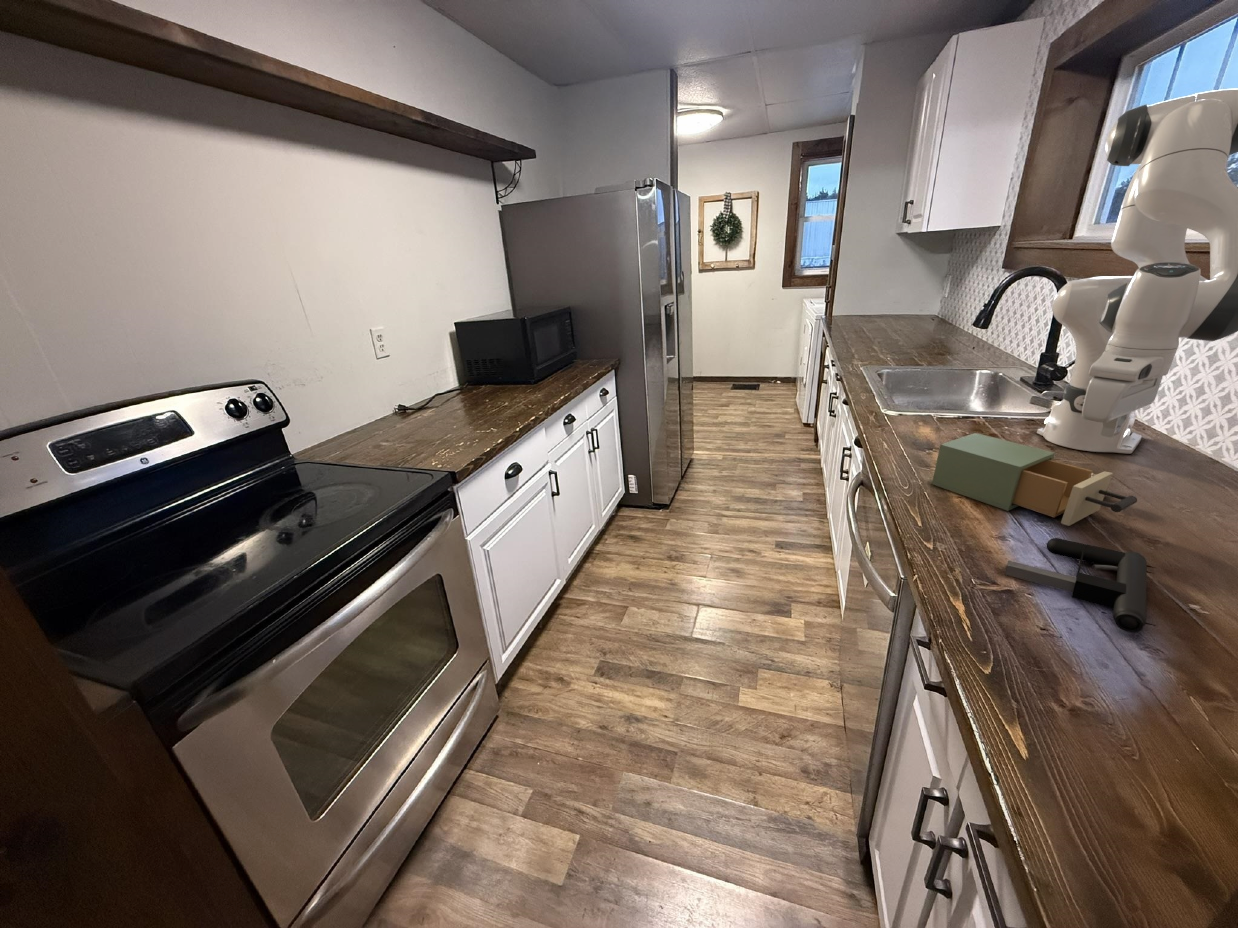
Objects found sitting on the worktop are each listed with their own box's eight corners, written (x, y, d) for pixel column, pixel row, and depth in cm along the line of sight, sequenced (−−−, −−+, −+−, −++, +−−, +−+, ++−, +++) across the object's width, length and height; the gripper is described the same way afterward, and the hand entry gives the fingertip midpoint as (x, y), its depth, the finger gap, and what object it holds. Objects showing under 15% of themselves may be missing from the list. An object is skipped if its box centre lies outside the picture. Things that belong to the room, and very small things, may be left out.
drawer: (1134, 520, 87) (1150, 482, 84) (1104, 538, 82) (1119, 499, 80) (1016, 483, 102) (1026, 450, 100) (985, 497, 98) (994, 463, 95)
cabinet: (1042, 494, 99) (1055, 452, 96) (1007, 511, 94) (1020, 467, 91) (966, 471, 111) (975, 432, 108) (931, 484, 106) (940, 444, 103)
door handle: (999, 577, 72) (1161, 622, 61) (1023, 525, 85) (1159, 553, 74) (995, 597, 73) (1154, 644, 62) (1019, 542, 86) (1153, 572, 75)
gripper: (1137, 351, 95) (1113, 420, 100) (1085, 367, 86) (1062, 441, 92) (1183, 356, 90) (1155, 428, 95) (1133, 373, 81) (1105, 451, 87)
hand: (1109, 435), depth 93 cm, fingers closed
